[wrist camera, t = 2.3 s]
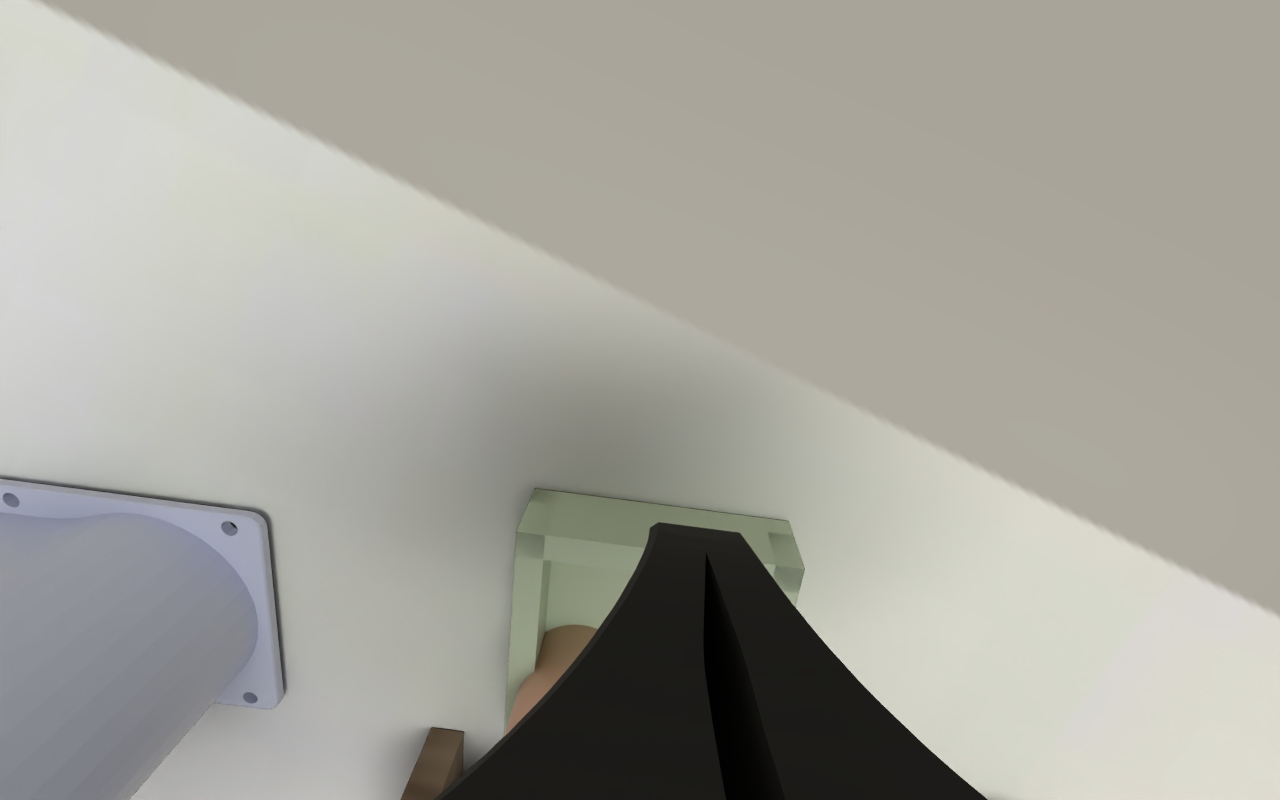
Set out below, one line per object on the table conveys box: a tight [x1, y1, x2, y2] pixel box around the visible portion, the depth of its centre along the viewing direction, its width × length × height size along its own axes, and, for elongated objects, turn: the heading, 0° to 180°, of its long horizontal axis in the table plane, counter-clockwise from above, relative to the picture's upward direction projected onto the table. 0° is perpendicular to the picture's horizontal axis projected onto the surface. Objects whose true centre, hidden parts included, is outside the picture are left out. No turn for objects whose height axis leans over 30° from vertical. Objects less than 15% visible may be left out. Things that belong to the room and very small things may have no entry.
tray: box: [504, 489, 805, 736], centre depth 19 cm, size 8×9×5 cm
